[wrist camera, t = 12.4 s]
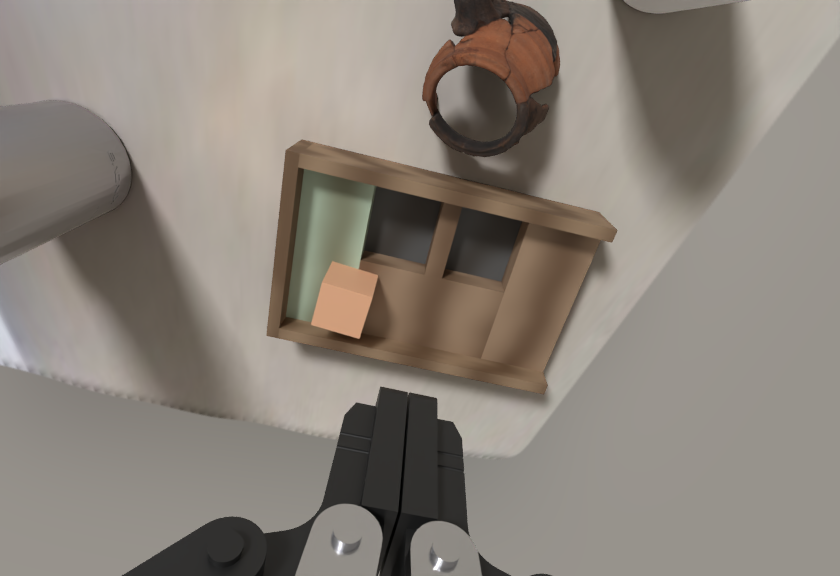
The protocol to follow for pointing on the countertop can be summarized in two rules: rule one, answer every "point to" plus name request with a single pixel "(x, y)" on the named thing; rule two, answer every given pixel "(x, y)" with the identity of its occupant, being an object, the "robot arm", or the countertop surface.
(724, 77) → the countertop surface
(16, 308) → the countertop surface
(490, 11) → the pottery mug
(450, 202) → the box
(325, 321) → the terracotta block
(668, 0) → the pill bottle
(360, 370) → the countertop surface
